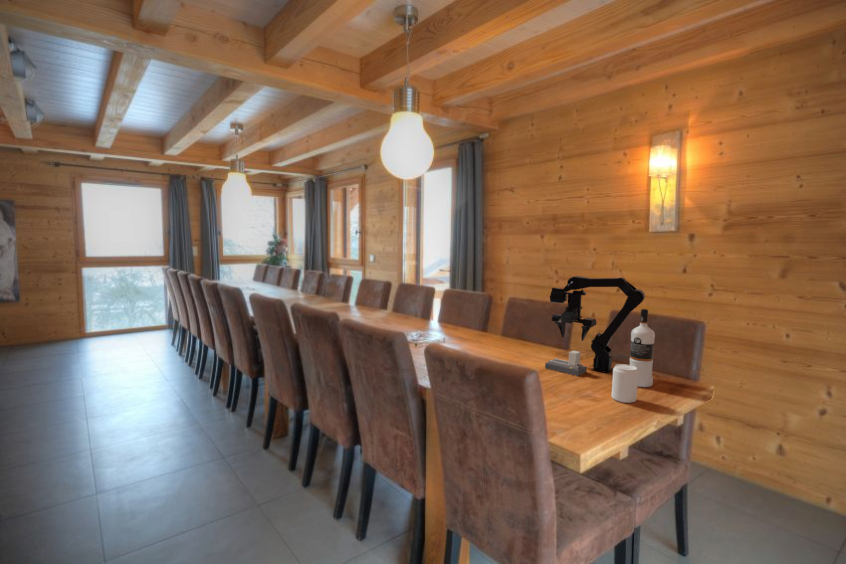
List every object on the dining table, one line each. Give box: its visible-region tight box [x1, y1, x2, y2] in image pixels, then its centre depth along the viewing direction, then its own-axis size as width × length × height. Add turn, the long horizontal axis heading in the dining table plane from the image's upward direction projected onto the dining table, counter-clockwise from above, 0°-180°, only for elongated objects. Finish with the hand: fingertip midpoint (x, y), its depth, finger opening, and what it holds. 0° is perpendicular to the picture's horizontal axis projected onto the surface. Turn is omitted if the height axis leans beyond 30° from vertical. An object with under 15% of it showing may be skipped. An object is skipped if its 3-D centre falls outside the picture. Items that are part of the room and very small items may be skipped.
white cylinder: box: [611, 363, 638, 404], centre depth 160 cm, size 8×8×12 cm
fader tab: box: [568, 350, 581, 366], centre depth 191 cm, size 3×4×6 cm
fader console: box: [544, 358, 587, 377], centre depth 194 cm, size 15×8×4 cm, turn 46°
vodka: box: [629, 308, 656, 388], centre depth 176 cm, size 9×9×30 cm
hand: (572, 338), depth 201 cm, fingers open, 9 cm apart
